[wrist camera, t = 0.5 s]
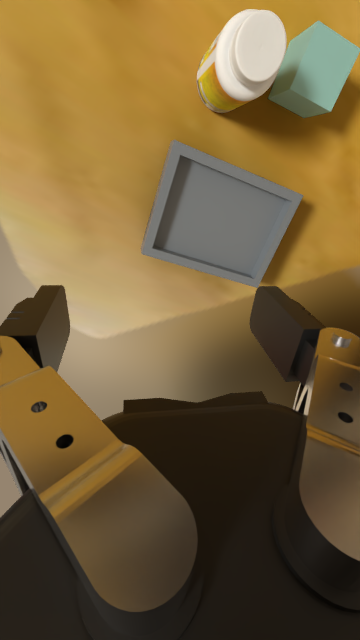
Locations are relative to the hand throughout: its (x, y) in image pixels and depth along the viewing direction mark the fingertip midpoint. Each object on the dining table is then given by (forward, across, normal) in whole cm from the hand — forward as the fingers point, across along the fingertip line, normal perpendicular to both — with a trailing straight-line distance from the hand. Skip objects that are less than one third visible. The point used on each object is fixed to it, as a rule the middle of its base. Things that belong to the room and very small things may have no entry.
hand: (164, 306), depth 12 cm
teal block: (+27, -17, -13) cm, 34 cm away
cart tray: (+26, -9, +1) cm, 28 cm away
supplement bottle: (+27, -8, -13) cm, 31 cm away
